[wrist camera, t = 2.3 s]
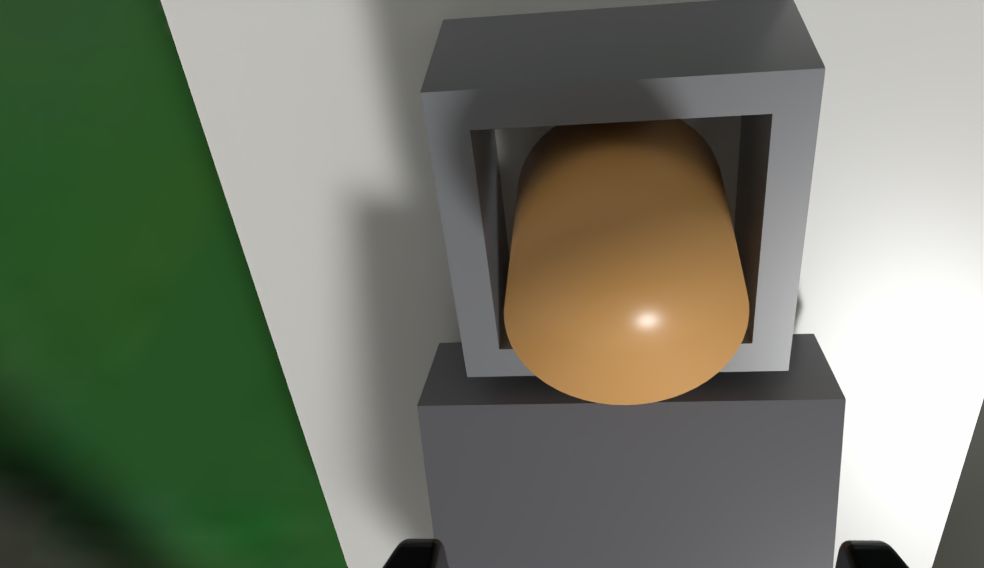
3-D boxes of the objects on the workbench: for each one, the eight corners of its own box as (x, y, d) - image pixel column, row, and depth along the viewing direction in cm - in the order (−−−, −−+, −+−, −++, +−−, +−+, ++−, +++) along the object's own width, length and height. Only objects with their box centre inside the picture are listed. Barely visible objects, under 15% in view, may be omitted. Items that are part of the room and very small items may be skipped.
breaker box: (863, 547, 27) (926, 772, 22) (402, 545, 29) (363, 753, 24) (1031, -196, 15) (1253, -76, 10) (225, -121, 17) (71, 14, 12)
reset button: (718, 273, 15) (741, 402, 13) (526, 279, 16) (515, 406, 13) (727, 98, 13) (757, 212, 11) (508, 111, 14) (491, 224, 11)
